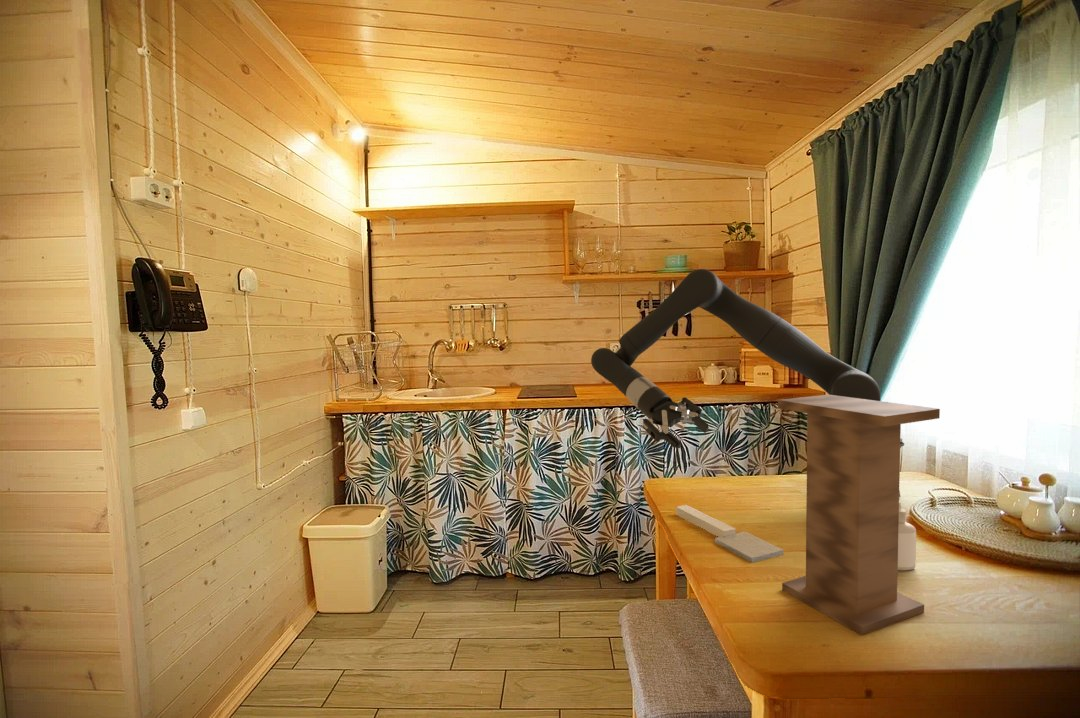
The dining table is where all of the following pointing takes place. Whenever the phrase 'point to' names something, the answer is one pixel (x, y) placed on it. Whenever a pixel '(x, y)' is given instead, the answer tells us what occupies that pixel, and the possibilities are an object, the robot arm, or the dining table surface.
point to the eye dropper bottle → (906, 543)
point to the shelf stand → (854, 509)
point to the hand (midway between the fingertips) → (693, 437)
